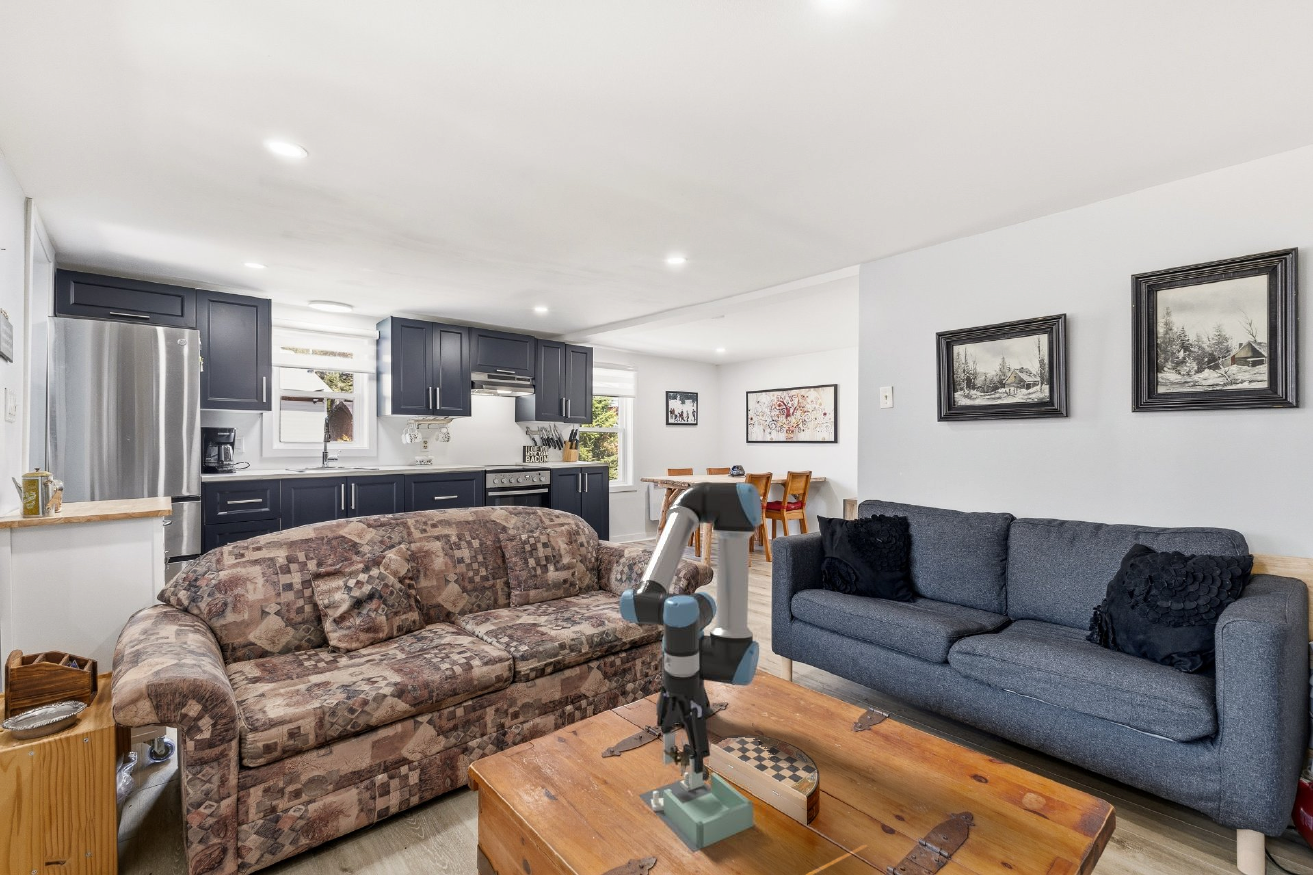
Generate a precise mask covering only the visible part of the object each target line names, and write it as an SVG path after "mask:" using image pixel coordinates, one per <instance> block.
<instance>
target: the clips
mask: <svg viewBox="0 0 1313 875" xmlns="http://www.w3.org/2000/svg"><path fill="white" fill-rule="evenodd" d="M689 777H690V771H689V772H688V771H685V773H684V774H683V779H684V780H683V781H680V785H681V786H682V787H683V788H684V789H685V790H686V791H690V790H692V789H691V788H690V778H689ZM704 782H705V781H703V785H704ZM703 785H701V786H703ZM699 787H700V786H699ZM696 788H698V787H696ZM693 789H695V788H693ZM668 790H669V791H670V792H671V793H672V790H670V789H668ZM651 805H652V808H653V810H652V812H654V811H659V810H663V798H659V792H658V791H653V799H651Z"/></svg>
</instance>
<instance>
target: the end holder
mask: <svg viewBox="0 0 1313 875" xmlns="http://www.w3.org/2000/svg"><path fill="white" fill-rule="evenodd" d="M710 787H711V793H710V794H707V795H704V796H702V797H699V798H696V799H694V800H691V801H689V802H686V803H683V804H682V803H681V802H680V801H679V800H678V799H677V798H676V797H675V796H674V795H673V794H672V793H671V792H670V791H669V790H668V789H667V790H664V791H663V813H664V814H665V815H666V816H667V817H668V818H669V819H670V820H671V821H672V822H673V823H674V824H675V825H676V826H677V827H678V828H679V829H680V830H681V831H682V832H683V833H684V834H685V835H686V836H687V837H688V838H689V839H690V840H691V841H692V842H693V843H694V844H695V845H696V846H697V847H698V848H699V850H701V848H702V849H704V848H706V847H708V845H709V846H711V845H713V844H715V842H716V843H718V842H721V841H722V839H723V840H725V839H727V838H729V836H730V837H732V836H734V835H736V833H737V834H738V832H739V833H740V832H743V831H746V830H748V829H750V828H752V826H753V824H754V803H753V802H752V801H751V800H749V799H748V798H747V797H746V796H745V795H743V794H742V793H741V792H739V791H738V790H737V789H735V787H733V786H732V785H731V784H730V783H729V782H727V781H726V780H724V779H723V778H722V777H721V776H719V775H718V774H717V773H716V772H712V773H710ZM753 827H754V826H753ZM747 828H748V829H747ZM745 829H746V830H745ZM731 835H732V836H731ZM724 838H725V839H724ZM717 841H718V842H717ZM710 844H711V845H710Z"/></svg>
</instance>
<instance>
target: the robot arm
mask: <svg viewBox="0 0 1313 875" xmlns="http://www.w3.org/2000/svg"><path fill="white" fill-rule="evenodd" d="M762 507H763V506H762V501H761V495H760V493H759V491H758V489H757V487H756V486H755V485H754V484H752V483H746V482H714V481H713V482H709V481H701V482H698V483H695V484H692V485H690V486H689V487H687V488H686V489H684V490H683V491H682V492H680V493H679V494H678V495H677V496H676V497H675V498H674V499H673V501H672V503H671V504H670V505H669V507H668V509H667V511H666V514H665V520H666V523H665V525H664V527H663V529H662V531H661V533H660V536H659V537H658V540H657V543H656V545H655V547H654V549H653V551H652V554H651V556H650V557H649V558H650V559H648V560H649V561H648V563H647V565H646V567H645V569H644V572H643V574H642V577H641V578H640V581H639V583H638V585H637V587H636V589H635V588H632V589H631V588H630V589H626V590H625V591H623V592H622V594H621V597H620V600H619V604H618V605H619V607H618V608H619V614H620V617H621V619H623V620H624V621H626V622H631V623H634V624H637V625H639V624H645V625H654V626H662V627H663V636H662V645H661V656H662V657H661V663H662V664H661V665H662V667H661V668H662V670H661V671H662V673H661V674H662V685H661V686H660V692H659V696H658V699H657V702H656V716H657V719H656V725H657V727H660V731H661V733H662V749H663V750H666V751H667V752H669V753H671V751H670V749H671V747H673V748H674V751H675V750H676V747H675V745H676V732H675V731H674V730H676V724H675V723H679V724H683V725H682V726H684V729H685V732H686V735H687V740H688V745H689V746H690V749H691V753H692V755H691V756H689V757H690V766H689V777H690V788H691V789H693V788H696V787H699V786H701V785H703V763H704V758H707V757H710V756H711V750H710V745H709V738H708V732H707V726H706V720H707V719H708V718H710V716H711V703H710V698H709V697H708V693H707V690H706V687H705V681H710V682H715V683H722V684H728V685H731V686H743V687H744V686H749V685H750V684H751V683H752V681H753V680H754V678H755V674H756V671H757V668H758V663H759V657H760V656H759V655H760V644H759V642H758V641H757V640H753V639H754V633H753V632H752V630H750V628H749V627H748V616H749V615H748V614H749V613H748V612H749V611H748V610H749V608H748V607H749V572H750V571H749V566H750V562H749V561H750V560H749V559H750V539H751V537H752V536H753V535H754V534H755V533H756V527H759V526H761V524H762V520H763V508H762ZM701 524H711V525H712V532H714V534H715V535H716V536H717V566H716V567H717V568H716V571H717V572H716V573H717V574H716V601H715V600H714V598H713V596H711V595H710V593H709V594H708V593H707V592H705V591H697V592H694V593H692V594H690V595H689V594H679V593H671V592H670V593H669V591H670V588H671V585H672V583H673V581H674V579H675V576H676V573H677V571H678V568H679V566H680V563H681V561H682V558H683V556H684V554H685V551H686V548H687V546H688V543H689V541H690V539H691V536H692V534H693V533H694V532H695V531H697V529H699V526H700V525H701ZM713 619H715V625H714V626H713V627H712V628H711V629H710V630H709V635H705V631H704V629H705V628H706V627H708V626H709V625H710V624H711V623H712V621H713ZM662 753H663V754H662V755H663V756H662V759H663V760H662V761H663V765H664V766H666V765H669V764H672V763H675V762H674V759H673V758H672V757H671V756H669V755H667V754H665V752H664V751H663V752H662Z"/></svg>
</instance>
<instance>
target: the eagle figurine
mask: <svg viewBox="0 0 1313 875" xmlns="http://www.w3.org/2000/svg"><path fill="white" fill-rule="evenodd" d="M681 745H682V751H679V748H678V746H677V745H676V744H675V751H674V748H673V747H671V749H670V751H671V753H669V752H667V751H666V750H663V751H664V752H665V754H667V755H669V756H671V757H672V758H673V759H674V762H673V763H674V764H675V765H676V766H678V764H679V763H680V770H681V771H680V772H681V775H680V777H684V773H685V772H686V768H687V767H690V757H689V756H691V755H692V753H691V749H690V745H689V743H686V741H685V740H683V739H682V740H681ZM678 757H679V758H678ZM710 776H711V773H710V771H709V769H708V767H707V766H706V764H704V762H703V781H704V782H707V781H709V779H710Z"/></svg>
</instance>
